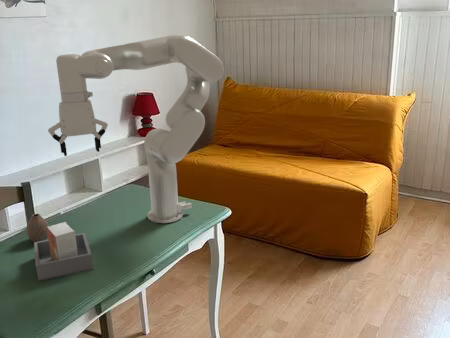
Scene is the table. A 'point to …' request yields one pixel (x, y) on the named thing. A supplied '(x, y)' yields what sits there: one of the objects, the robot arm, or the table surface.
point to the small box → (61, 241)
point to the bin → (62, 260)
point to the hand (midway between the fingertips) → (81, 152)
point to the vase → (37, 228)
